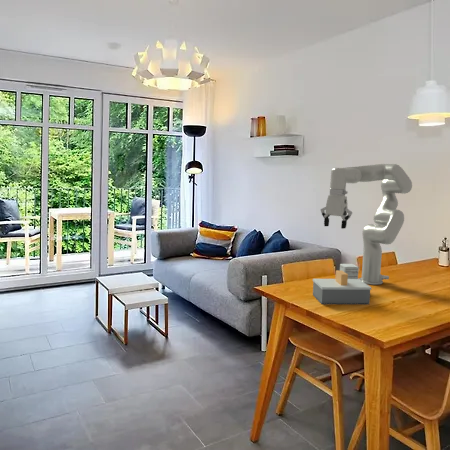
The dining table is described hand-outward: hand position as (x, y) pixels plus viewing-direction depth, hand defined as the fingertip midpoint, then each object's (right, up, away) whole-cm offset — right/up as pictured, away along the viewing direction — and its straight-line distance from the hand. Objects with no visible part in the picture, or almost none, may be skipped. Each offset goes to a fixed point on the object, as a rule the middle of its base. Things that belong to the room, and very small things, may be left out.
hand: (334, 227), depth 223 cm
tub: (-1, -34, -14) cm, 37 cm away
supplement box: (+8, -32, +4) cm, 33 cm away
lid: (-1, -28, -15) cm, 31 cm away
